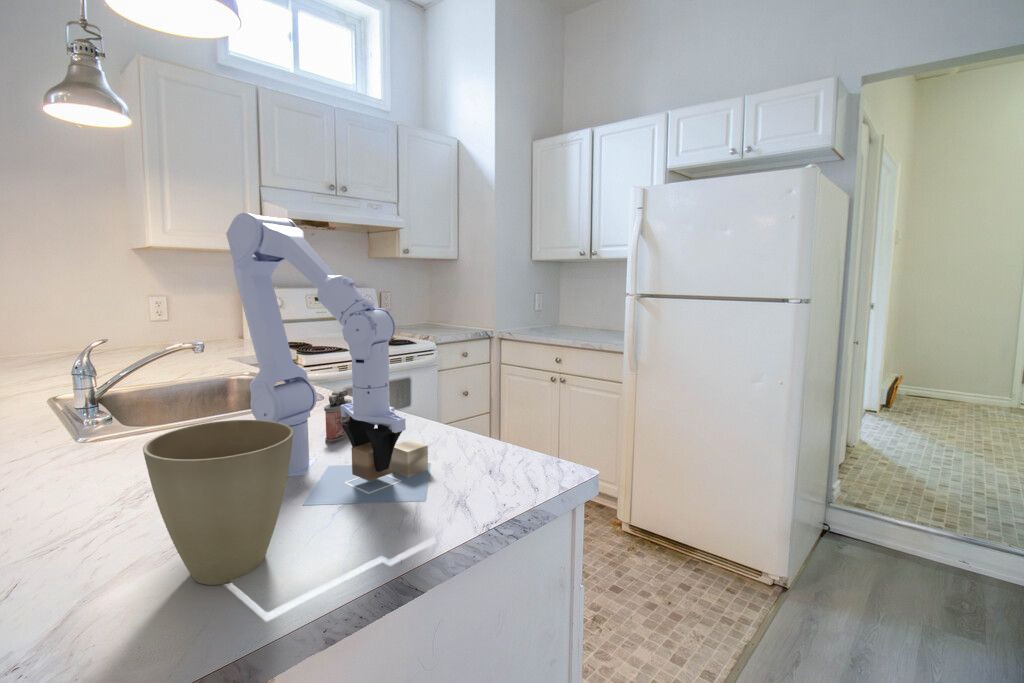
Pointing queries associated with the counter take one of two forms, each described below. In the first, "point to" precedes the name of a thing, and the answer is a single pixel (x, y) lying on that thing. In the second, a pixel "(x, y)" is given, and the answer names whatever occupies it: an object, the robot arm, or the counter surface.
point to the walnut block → (366, 463)
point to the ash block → (410, 458)
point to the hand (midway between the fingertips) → (372, 466)
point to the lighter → (336, 417)
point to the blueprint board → (366, 488)
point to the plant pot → (220, 492)
